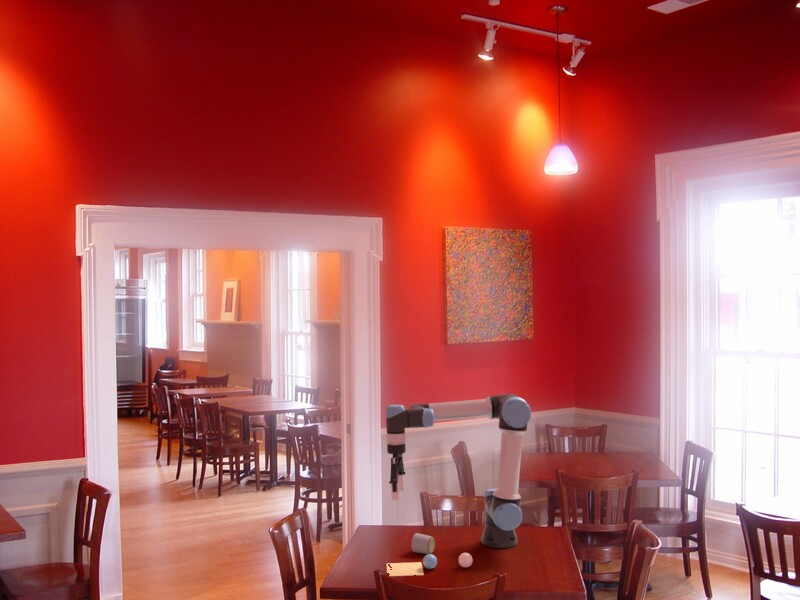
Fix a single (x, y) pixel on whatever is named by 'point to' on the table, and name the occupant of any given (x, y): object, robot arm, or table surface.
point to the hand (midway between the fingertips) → (398, 495)
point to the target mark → (405, 569)
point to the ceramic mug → (423, 544)
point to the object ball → (430, 561)
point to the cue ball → (465, 560)
